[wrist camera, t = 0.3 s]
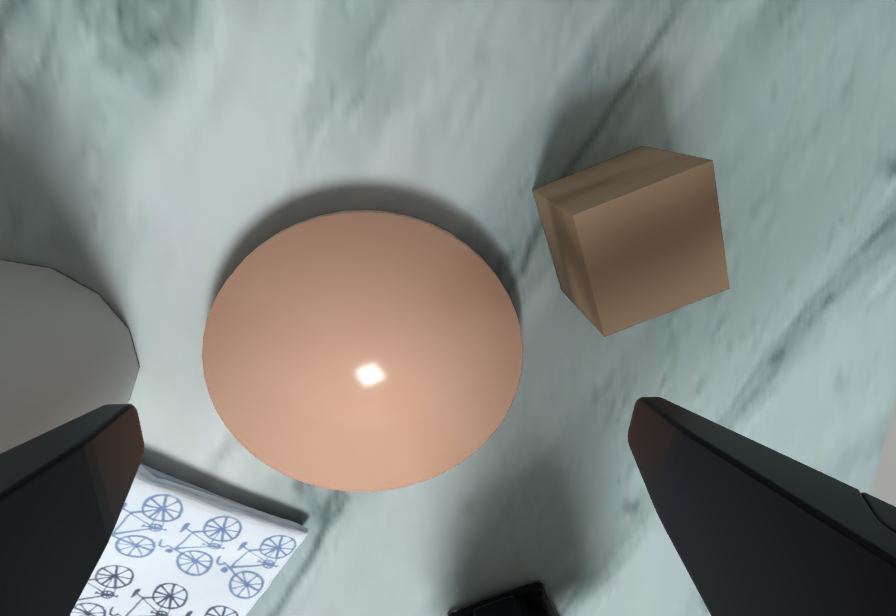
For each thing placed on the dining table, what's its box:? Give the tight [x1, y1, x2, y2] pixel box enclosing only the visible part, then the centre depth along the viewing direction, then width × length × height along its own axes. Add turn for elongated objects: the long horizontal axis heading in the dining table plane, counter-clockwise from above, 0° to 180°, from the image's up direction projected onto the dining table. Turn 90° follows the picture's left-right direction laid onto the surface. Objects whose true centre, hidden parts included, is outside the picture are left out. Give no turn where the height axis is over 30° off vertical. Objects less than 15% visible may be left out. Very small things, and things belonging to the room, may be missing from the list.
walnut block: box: [532, 146, 729, 337], centre depth 20 cm, size 5×5×5 cm
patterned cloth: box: [70, 463, 308, 616], centre depth 26 cm, size 19×20×2 cm
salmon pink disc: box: [202, 210, 523, 492], centre depth 23 cm, size 14×14×1 cm
